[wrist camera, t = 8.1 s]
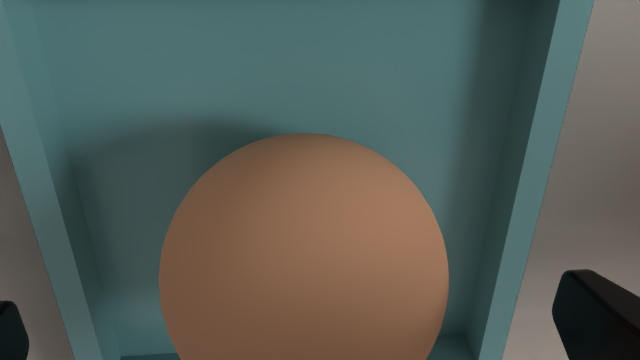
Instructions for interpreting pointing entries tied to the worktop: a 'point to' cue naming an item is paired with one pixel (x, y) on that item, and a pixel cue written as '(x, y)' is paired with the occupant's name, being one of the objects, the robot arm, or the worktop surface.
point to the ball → (303, 257)
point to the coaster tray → (278, 133)
